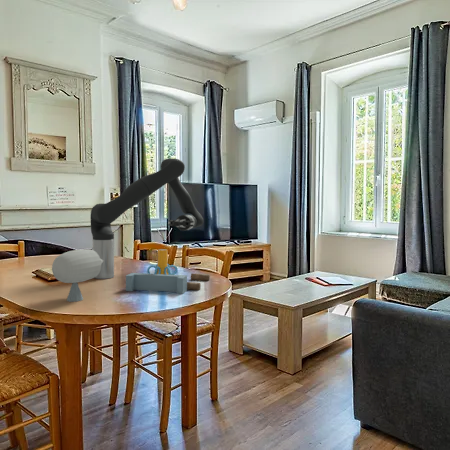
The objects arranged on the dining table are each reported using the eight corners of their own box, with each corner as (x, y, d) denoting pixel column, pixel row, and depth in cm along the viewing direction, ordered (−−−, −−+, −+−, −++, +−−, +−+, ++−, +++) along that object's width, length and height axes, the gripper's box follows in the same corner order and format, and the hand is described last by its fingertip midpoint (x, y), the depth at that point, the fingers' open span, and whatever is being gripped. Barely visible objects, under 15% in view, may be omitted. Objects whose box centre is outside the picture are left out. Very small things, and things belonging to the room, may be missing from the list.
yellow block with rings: (166, 290, 159) (167, 252, 158) (143, 287, 162) (143, 250, 162) (180, 284, 170) (180, 249, 169) (158, 282, 174) (158, 247, 173)
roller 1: (192, 272, 181) (192, 278, 182) (190, 274, 179) (190, 281, 179) (209, 273, 180) (209, 279, 181) (208, 275, 177) (208, 282, 178)
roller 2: (179, 289, 160) (179, 282, 160) (181, 288, 163) (181, 281, 163) (198, 291, 159) (199, 283, 159) (200, 289, 162) (200, 282, 162)
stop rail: (125, 290, 157) (125, 275, 156) (131, 287, 163) (131, 272, 162) (182, 294, 153) (183, 278, 153) (186, 290, 159) (187, 275, 159)
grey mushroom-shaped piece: (115, 299, 143) (115, 250, 142) (55, 306, 132) (55, 253, 131) (103, 291, 156) (102, 246, 155) (47, 297, 145) (46, 248, 144)
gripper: (172, 214, 200) (161, 215, 183) (198, 215, 198) (190, 216, 181) (172, 229, 201) (161, 231, 184) (198, 230, 199) (189, 232, 181)
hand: (175, 223), depth 182 cm, fingers closed
